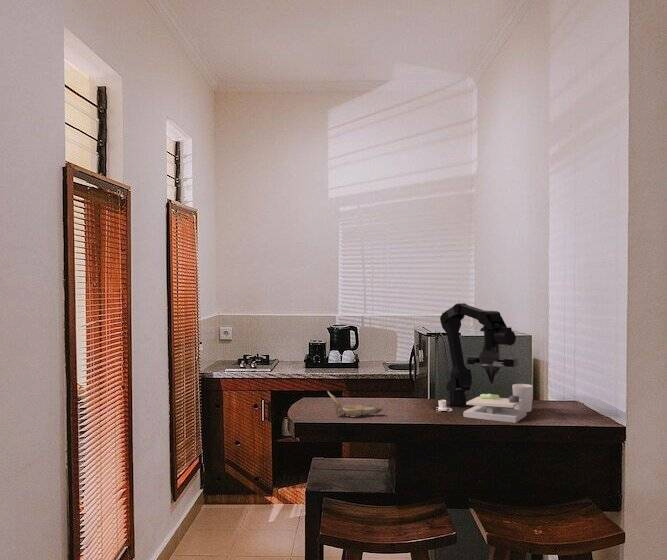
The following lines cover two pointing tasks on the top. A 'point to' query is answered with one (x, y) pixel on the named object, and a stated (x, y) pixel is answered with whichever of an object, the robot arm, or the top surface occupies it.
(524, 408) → the white cup
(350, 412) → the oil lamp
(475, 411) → the instrument base
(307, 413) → the top surface
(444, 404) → the teacup and saucer
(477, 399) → the instrument plate
